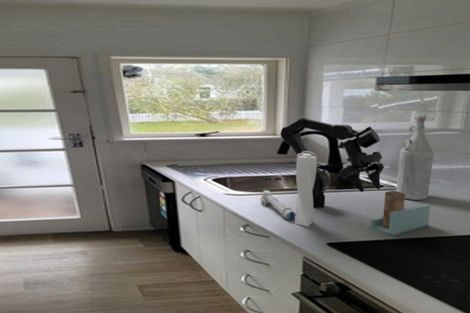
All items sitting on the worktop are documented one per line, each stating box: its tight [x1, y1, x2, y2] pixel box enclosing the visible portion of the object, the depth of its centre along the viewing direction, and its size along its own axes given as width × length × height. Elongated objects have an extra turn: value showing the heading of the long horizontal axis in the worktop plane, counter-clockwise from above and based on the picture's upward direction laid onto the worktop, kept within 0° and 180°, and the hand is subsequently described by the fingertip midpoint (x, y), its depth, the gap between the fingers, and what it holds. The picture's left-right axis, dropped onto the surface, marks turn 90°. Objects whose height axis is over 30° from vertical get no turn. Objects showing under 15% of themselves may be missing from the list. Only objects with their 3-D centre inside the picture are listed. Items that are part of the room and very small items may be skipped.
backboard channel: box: [370, 203, 431, 236], centre depth 120 cm, size 9×20×8 cm, turn 118°
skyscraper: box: [294, 150, 318, 227], centre depth 121 cm, size 8×8×28 cm
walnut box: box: [383, 190, 406, 229], centre depth 117 cm, size 4×4×13 cm
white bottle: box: [395, 113, 435, 201], centre depth 156 cm, size 13×17×40 cm
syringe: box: [260, 189, 296, 222], centre depth 138 cm, size 5×7×25 cm
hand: (371, 190), depth 124 cm, fingers open, 9 cm apart
